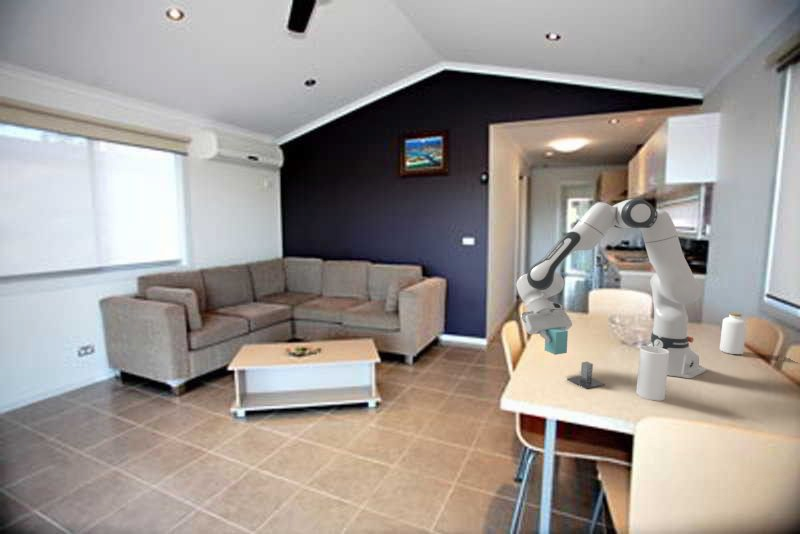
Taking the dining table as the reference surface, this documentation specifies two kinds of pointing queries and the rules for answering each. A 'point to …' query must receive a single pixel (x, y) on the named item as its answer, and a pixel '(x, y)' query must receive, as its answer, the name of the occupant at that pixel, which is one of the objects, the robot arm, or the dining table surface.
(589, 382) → the post
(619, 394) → the dining table surface
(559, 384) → the dining table surface
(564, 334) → the teal rectangular block
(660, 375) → the cup
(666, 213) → the robot arm
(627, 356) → the dining table surface
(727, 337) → the potion bottle
